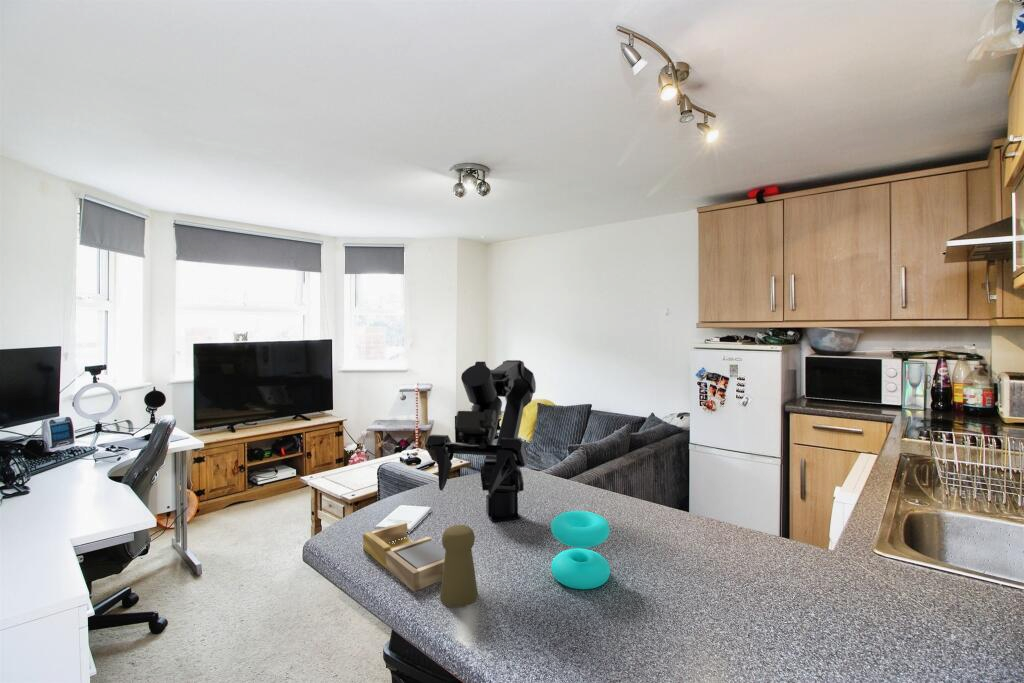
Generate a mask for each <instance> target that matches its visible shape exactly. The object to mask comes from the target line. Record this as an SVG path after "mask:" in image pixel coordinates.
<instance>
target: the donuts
mask: <svg viewBox="0 0 1024 683" xmlns="http://www.w3.org/2000/svg"><path fill="white" fill-rule="evenodd" d="M550 531H551V533H552V535H553V537H554V538H555V539H556V540H557V541H559V542H560V543H562V544H564V545H566V546H569V547H573V548H568V549H566V550H563V551H560V552H559V553H558V554H557V555H556V556H554V558H553V559H552V562H551V566H550V568H551V569H550V570H551V572H552V575H553V578H555V580H556V581H557V582H559V583H560V584H562V585H563V586H566V587H568V588H571V589H577V590H592V589H595V588H598V587H601V586H602V585H604V584H605V583H606V582H608V580H609V577H610V575H611V567H610V564H609V562H608V560H607V559H606V558H605V557H604V556H603V555H602V554H600V553H598V552H596V551H594V550H591V549H588V548H592V547H597V546H600V545H602V544H603V543H604V542H605V541H606V540H607V539H608V538H609V536H610V532H611V529H610V525H609V522H608V521H607V520H606V518H605V517H603V516H601V515H599V514H597V513H593V512H591V511H586V510H570V511H566V512H565V511H564V512H562V513H560V514H558V515H556V516H555V517H553V519H552V521H551V524H550Z"/></svg>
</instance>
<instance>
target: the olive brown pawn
mask: <svg viewBox="0 0 1024 683" xmlns="http://www.w3.org/2000/svg"><path fill="white" fill-rule="evenodd" d="M475 537H476V536H475V532H474V530H473V529H472V528H471V527H470V526H467V525H465V524H464V525H463V524H454V525H451V526H449V527H447V528H446V529H444V531H443V534H442V536H441V543H442V549H444V550H446V551H445V559H444V568H443V576H442V580H441V586H440V595H439V599H440V602H441V603H442V604H443V605H444V606H448V607H450V608H462V607H463V608H464V607H467V606H470V605H472V604H473V603H475V602H476V601H477V600H478V597H479V594H478V586H477V578H476V572H475V566H474V564H475V563H474V557H473V551H472V548H473V547H474V545H475V539H476V538H475Z"/></svg>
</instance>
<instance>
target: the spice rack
mask: <svg viewBox="0 0 1024 683" xmlns="http://www.w3.org/2000/svg"><path fill="white" fill-rule="evenodd" d="M404 537H406V538H407V537H408V533H407V523H406V522H402V523H398V524H395V525H392V526H388V527H385V528H382V529H378V530H375V529H374V530H372V531H367V532H364V533H362V539H363V540H362V549H363V551H365V552H366V553H367V554H368V555H370V556H371V557H372V558H373V559H374V560H376V561H377V562H378V563H379V564H380V565H382V567H384V568H385V569H386V570H388V571H389V573H391V574H393V575H394V576H395V578H397V579H398V580H399V581H400V582H402V583H403V584H404V585H405V586H406V587H408V588H409V589H410V590H411V591H412V592H417V591H419V590H422V589H424V588H427V587H429V586H432V585H435V584H436V583H437V584H438V582H442V576H443V568H444V559H445V551H446V550H445V549H444V548H443V547H441V546H440V545H438V544H436V543H435V542H433V541H432V537H430V536H425V537H423V538H420V539H416V540H414V541H413V540H412V539H411V538H409V537H408V538H407V539H406V538H405V539H404ZM401 538H403V539H402V540H401ZM398 539H400V540H398ZM395 540H396V542H395ZM392 541H394V543H395V544H394V543H393V542H392ZM389 542H390V543H389ZM392 543H393V544H392Z"/></svg>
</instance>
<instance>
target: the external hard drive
mask: <svg viewBox="0 0 1024 683" xmlns="http://www.w3.org/2000/svg"><path fill="white" fill-rule="evenodd" d="M431 510H432V507H431V506H422V505H420V506H419V505H404V504H401V505H398V507H396V508H395V509H394V510H393V511H392V512H391V513H389V514H388V515H387V516H386V517H385V518H383V520H381V521H380V522H379V523H378V524H376V525H375V526H374V530H375V529H382V528H385V527H388V526H392V525H395V524H398V523H402V522H406V523H407V532H411V530H412V529H413V528H414V527H415V526H416V525H417V524H418V523H419V522H420V521H421V520H422V519H423V518H424V517H425V516H426V515H427V514H428V513H429V512H430V511H431ZM430 513H431V512H430ZM411 533H412V532H411Z"/></svg>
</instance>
